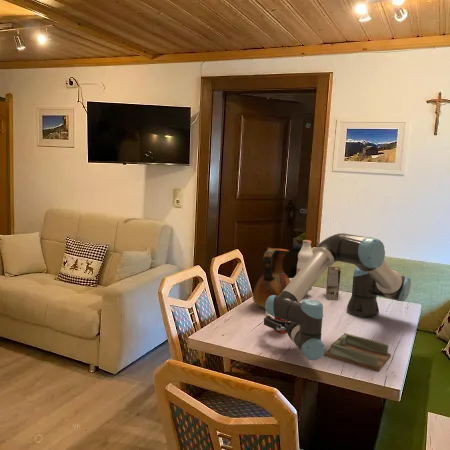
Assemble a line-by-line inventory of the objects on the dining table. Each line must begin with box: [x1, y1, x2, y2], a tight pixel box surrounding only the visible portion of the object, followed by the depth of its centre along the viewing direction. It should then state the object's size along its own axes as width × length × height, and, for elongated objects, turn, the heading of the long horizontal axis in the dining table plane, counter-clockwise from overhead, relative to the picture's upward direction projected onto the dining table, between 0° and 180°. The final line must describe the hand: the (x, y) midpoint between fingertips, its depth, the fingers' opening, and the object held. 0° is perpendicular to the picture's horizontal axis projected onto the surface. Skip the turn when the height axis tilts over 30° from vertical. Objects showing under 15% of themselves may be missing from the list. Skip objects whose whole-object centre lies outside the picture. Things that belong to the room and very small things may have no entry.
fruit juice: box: [295, 239, 313, 290], centre depth 250 cm, size 9×9×28 cm
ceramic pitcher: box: [252, 247, 290, 309], centre depth 213 cm, size 20×20×30 cm
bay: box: [323, 332, 391, 372], centre depth 164 cm, size 16×20×4 cm
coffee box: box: [325, 266, 342, 301], centre depth 236 cm, size 9×6×16 cm
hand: (282, 314), depth 183 cm, fingers open, 13 cm apart
